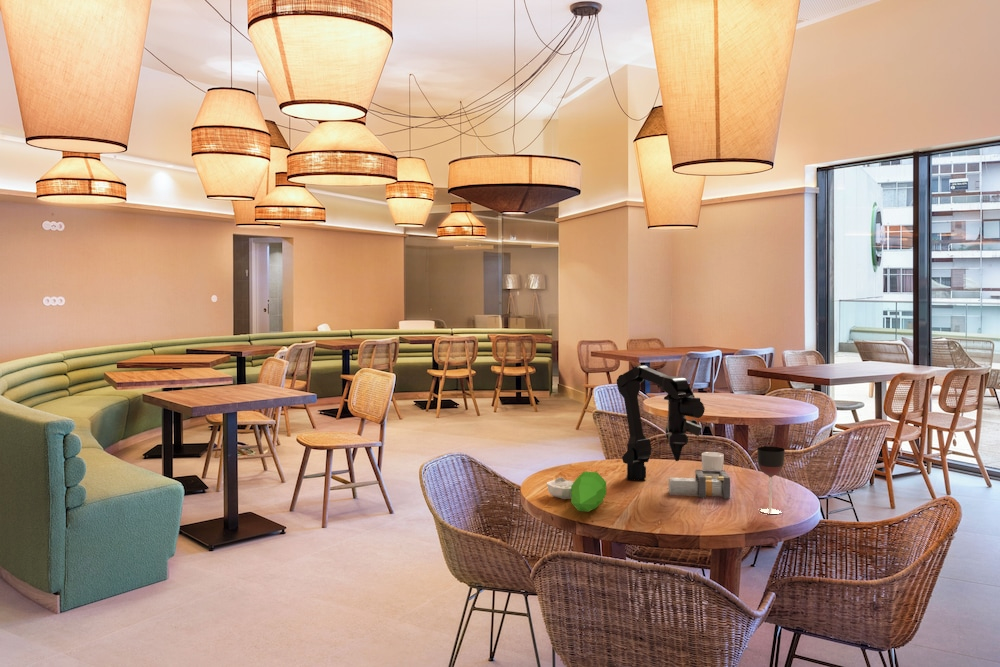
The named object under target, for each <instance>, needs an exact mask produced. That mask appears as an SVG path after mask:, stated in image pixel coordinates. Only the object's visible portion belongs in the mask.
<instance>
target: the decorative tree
mask: <svg viewBox="0 0 1000 667" xmlns="http://www.w3.org/2000/svg"><path fill="white" fill-rule="evenodd" d="M606 496H607V481H606V480H605V479H604V478H603V477H602V476H601V474H600V473H598V472H597V471H583V472H582V473H581V474H580V475H579V476H578V477H577V478H576V479H575V480H574V481H573V484H572V485H571V498H570V499H571V500H570V502H571V504H572V505H573V507H574V508H576V510H577V511H579V512H591V511H594V510H596V508H597V507H598V506H600V505H601V504H602V503H603V502H604V499H605V498H606Z"/></svg>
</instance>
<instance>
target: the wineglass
mask: <svg viewBox="0 0 1000 667" xmlns="http://www.w3.org/2000/svg"><path fill="white" fill-rule="evenodd" d="M756 450H757V462H758V467H759V469H760V471H761V472H762V473H763V474H765V475H766V476H768V477H769V481H768V486H769V489H768V507H766V508H767V509H762V508H760V509H761V510H760V511H761V512H764V513H768V514H769V513H770V514H779V513H782V512H783V511H782V510H780V511H779V509H777V510H776V508H773V507H772V505H773V504H772V498H773V493H772V492H773V477H774V476H775V475H777V474H779V473H780V472H781V471H782V469H783V467H784V462H785V453H786V452H785V450H786V449H785V448H783V447H779V446H771V445H769V446H759V447H757V449H756ZM768 508H769V509H768ZM781 511H782V512H781Z"/></svg>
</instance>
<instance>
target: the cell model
mask: <svg viewBox="0 0 1000 667" xmlns="http://www.w3.org/2000/svg"><path fill="white" fill-rule="evenodd" d="M573 482H574V481H573V480H569V479H565V478H564V477H561V476H558V477H557V478H555V479H554V480H553V479H552V480H550V481H547V482H546V486H547V491H548V493H549V494H550V495H551V496H553V497H555V498H559V499H561V500H567V499H569V500H570V499H571V485H572V484H573Z"/></svg>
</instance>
